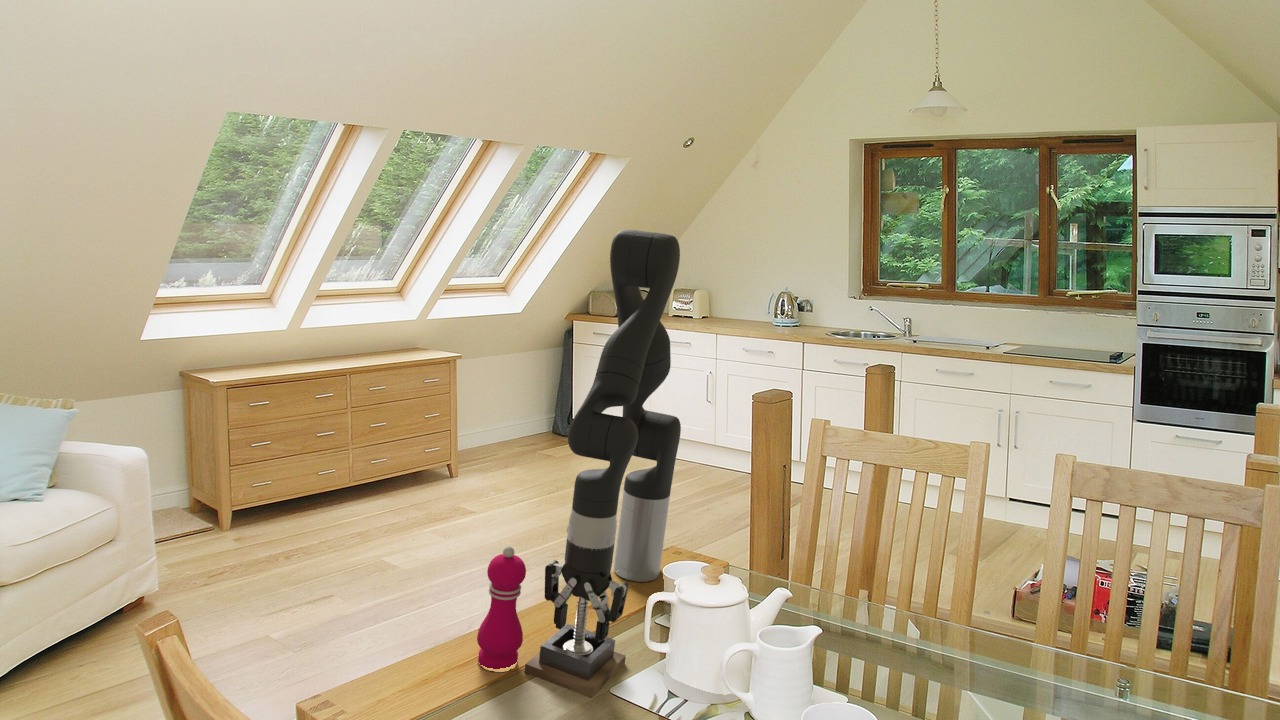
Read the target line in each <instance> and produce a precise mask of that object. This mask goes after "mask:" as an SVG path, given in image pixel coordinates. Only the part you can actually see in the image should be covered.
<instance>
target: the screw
mask: <svg viewBox="0 0 1280 720" xmlns="http://www.w3.org/2000/svg"><path fill="white" fill-rule="evenodd" d="M577 600H578V601H577V602H576V604H577V605H576V607H577V608H576V612H575V613H576V614H575V617H576V618H575V622H574V624H575V625H573V626H574V627H575V629H574V631H575V632H574V634H575V635H574V636H573V637H574V639H573V640H569V641H567V642H566V643H564V645H563V649H564V650H566V651H569V652H572V653H575V654H578V655H580V656H583V657H585V656H588V655H590V654H591V653H592V652H593V647H592V645H591V644H590V643H588V642H587V641H584V640H585V638H584V637H585V633H586V632H585V630H587V620H588V613H589V611H588V610H589V601H588V600H585V599H584V598H582V597H577Z"/></svg>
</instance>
